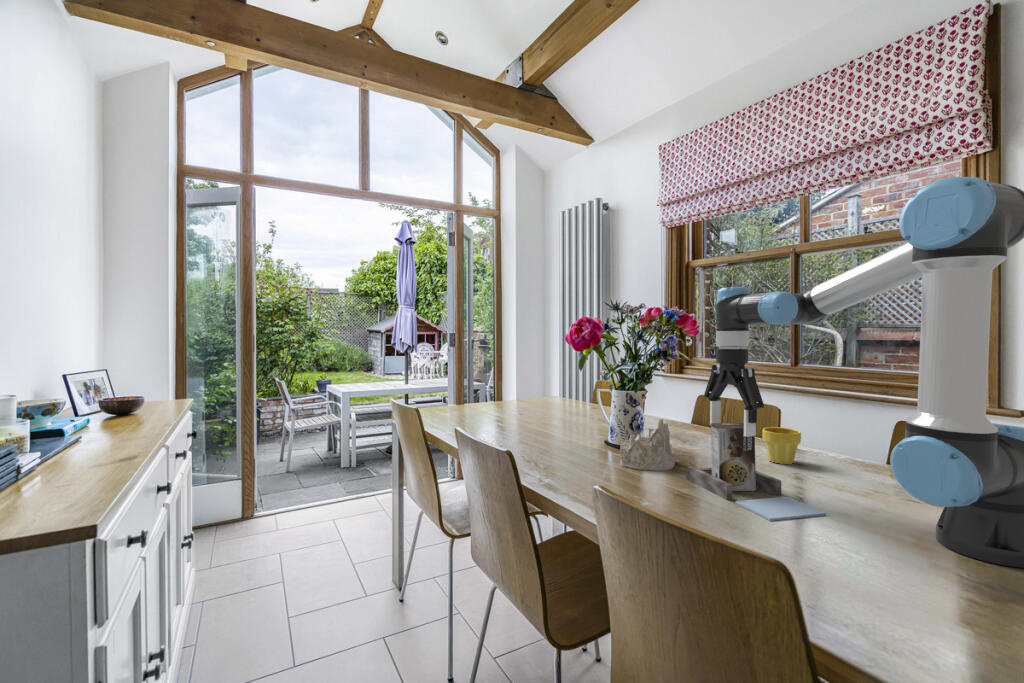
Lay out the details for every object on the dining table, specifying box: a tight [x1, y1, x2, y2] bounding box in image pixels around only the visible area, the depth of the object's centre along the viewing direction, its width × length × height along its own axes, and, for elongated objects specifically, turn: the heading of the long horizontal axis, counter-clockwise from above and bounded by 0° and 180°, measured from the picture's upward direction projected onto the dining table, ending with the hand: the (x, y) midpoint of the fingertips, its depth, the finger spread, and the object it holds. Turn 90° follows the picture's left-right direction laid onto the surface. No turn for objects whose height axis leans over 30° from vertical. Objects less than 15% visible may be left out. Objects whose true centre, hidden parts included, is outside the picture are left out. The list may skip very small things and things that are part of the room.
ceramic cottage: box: [619, 418, 676, 472], centre depth 148 cm, size 16×16×15 cm
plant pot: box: [762, 426, 802, 465], centre depth 148 cm, size 10×10×10 cm
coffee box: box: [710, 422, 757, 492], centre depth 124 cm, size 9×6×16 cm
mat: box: [735, 496, 827, 522], centre depth 108 cm, size 11×14×1 cm
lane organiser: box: [685, 465, 782, 501], centre depth 125 cm, size 18×15×4 cm
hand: (731, 430), depth 124 cm, fingers open, 13 cm apart
